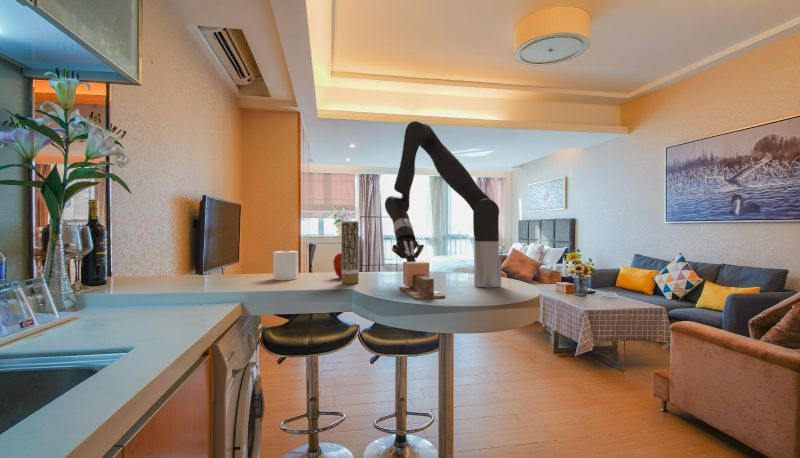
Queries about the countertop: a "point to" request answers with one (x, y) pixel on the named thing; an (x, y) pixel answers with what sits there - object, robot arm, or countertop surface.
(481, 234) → the robot arm
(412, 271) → the light brown square block
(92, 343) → the countertop surface
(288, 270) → the toilet paper
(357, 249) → the brown tall block
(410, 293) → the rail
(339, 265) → the apple
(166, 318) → the countertop surface
